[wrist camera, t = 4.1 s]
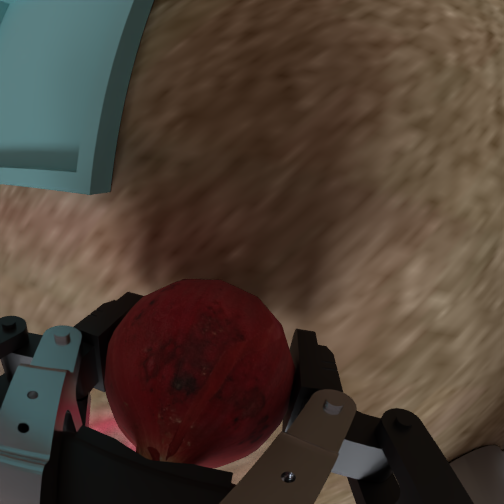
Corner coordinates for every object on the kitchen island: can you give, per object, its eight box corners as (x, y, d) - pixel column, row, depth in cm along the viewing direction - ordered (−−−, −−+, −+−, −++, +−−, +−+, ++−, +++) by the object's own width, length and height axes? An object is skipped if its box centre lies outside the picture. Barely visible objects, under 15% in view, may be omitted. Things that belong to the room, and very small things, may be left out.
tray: (175, -50, 8) (165, -67, 7) (110, 192, 12) (89, 194, 10) (12, 1, 9) (-2, -5, 8) (-33, 176, 12) (-50, 179, 11)
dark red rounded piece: (180, 230, 12) (34, 313, 4) (315, 289, 12) (358, 453, 4) (144, 344, 13) (49, 466, 5) (256, 393, 13) (233, 545, 5)
